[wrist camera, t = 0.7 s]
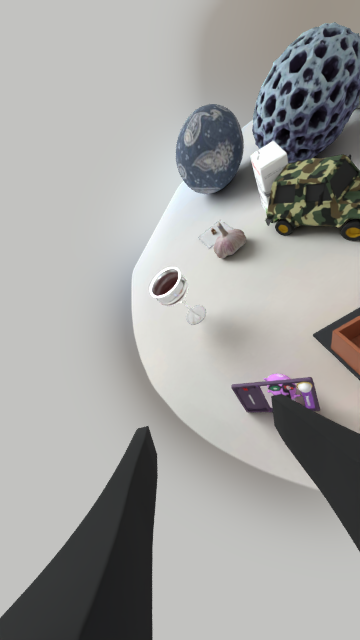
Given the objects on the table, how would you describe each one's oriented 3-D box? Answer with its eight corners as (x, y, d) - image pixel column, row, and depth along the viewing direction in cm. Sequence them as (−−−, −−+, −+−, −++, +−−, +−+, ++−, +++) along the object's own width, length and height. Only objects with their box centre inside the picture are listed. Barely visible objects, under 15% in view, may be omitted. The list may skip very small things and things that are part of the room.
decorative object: (383, 128, 39) (419, -51, 25) (291, 194, 44) (277, 77, 30) (315, 124, 52) (314, 6, 38) (250, 175, 57) (228, 88, 43)
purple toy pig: (231, 392, 24) (315, 386, 20) (231, 359, 28) (301, 348, 23) (247, 417, 27) (322, 416, 23) (245, 385, 31) (309, 379, 27)
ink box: (295, 211, 41) (288, 151, 33) (271, 223, 43) (259, 170, 35) (282, 193, 46) (273, 138, 38) (261, 205, 48) (248, 155, 40)
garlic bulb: (216, 264, 46) (202, 240, 41) (218, 244, 50) (205, 219, 44) (248, 255, 42) (237, 226, 37) (247, 233, 46) (237, 204, 40)
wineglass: (215, 307, 40) (187, 271, 32) (196, 333, 40) (163, 302, 31) (194, 298, 45) (165, 264, 36) (177, 320, 44) (144, 291, 36)
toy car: (377, 243, 29) (395, 178, 22) (266, 234, 42) (255, 192, 35) (409, 198, 30) (436, 121, 23) (290, 203, 43) (284, 155, 36)
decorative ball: (259, 178, 54) (238, 84, 40) (198, 217, 62) (162, 150, 48) (242, 156, 66) (221, 78, 52) (192, 192, 74) (162, 132, 60)
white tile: (233, 228, 50) (231, 222, 48) (208, 248, 51) (205, 243, 50) (220, 219, 55) (217, 213, 54) (197, 237, 57) (194, 232, 55)
